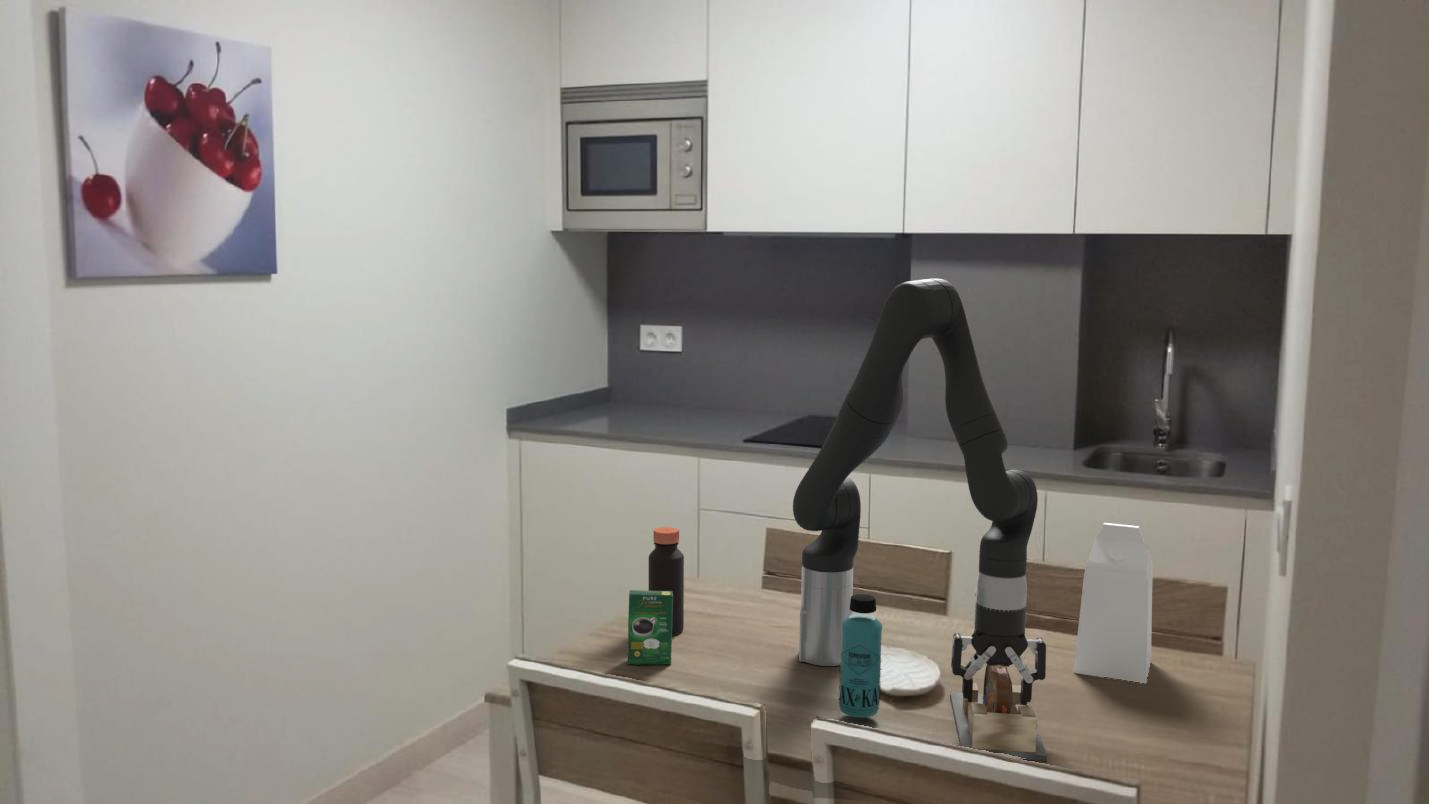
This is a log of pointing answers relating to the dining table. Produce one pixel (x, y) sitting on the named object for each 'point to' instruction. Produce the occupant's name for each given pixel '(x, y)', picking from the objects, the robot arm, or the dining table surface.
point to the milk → (1116, 607)
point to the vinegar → (668, 571)
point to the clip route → (998, 726)
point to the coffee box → (650, 627)
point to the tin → (997, 690)
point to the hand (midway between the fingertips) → (996, 702)
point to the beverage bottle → (860, 659)
